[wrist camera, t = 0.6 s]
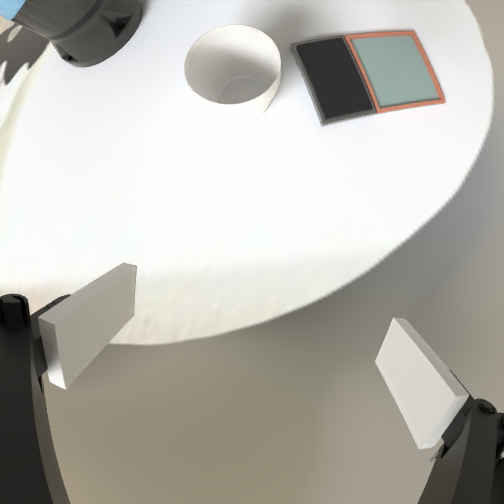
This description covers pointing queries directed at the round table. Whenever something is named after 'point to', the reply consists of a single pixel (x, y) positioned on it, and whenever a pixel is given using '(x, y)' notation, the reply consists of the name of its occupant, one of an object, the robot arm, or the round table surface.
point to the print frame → (395, 70)
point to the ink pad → (333, 80)
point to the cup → (234, 71)
